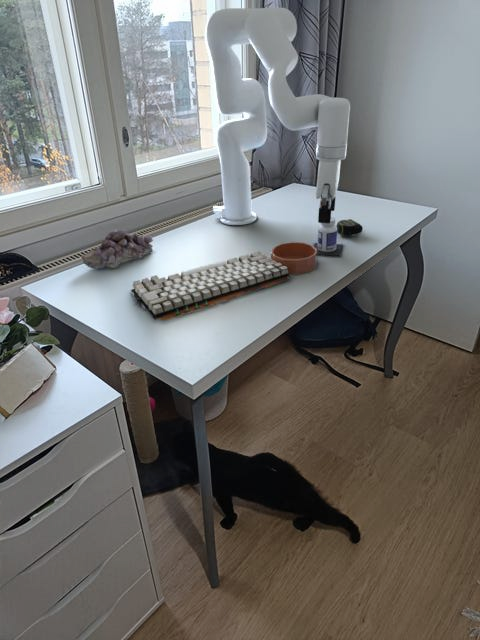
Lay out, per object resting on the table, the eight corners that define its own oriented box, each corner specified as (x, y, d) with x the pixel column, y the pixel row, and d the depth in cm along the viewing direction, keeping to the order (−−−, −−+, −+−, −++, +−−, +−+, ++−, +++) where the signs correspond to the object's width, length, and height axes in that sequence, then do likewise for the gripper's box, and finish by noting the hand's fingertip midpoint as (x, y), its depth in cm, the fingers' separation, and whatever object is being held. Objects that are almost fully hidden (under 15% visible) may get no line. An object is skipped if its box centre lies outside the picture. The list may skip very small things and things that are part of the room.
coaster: (310, 254, 127) (310, 253, 126) (314, 244, 133) (314, 242, 133) (339, 256, 125) (339, 255, 124) (342, 245, 131) (342, 244, 131)
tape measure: (363, 236, 136) (364, 224, 134) (342, 239, 135) (343, 227, 133) (351, 228, 142) (352, 217, 140) (331, 232, 140) (332, 220, 138)
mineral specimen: (131, 228, 137) (138, 210, 129) (153, 253, 138) (162, 237, 129) (77, 262, 126) (81, 245, 118) (101, 289, 127) (107, 273, 118)
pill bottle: (338, 246, 130) (340, 216, 125) (333, 253, 126) (335, 222, 121) (320, 244, 132) (321, 214, 127) (315, 251, 128) (316, 221, 123)
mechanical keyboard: (254, 255, 128) (254, 244, 126) (294, 279, 114) (294, 267, 112) (128, 293, 113) (125, 281, 111) (155, 327, 99) (152, 314, 97)
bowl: (267, 272, 119) (266, 258, 117) (276, 254, 128) (276, 241, 126) (312, 275, 116) (313, 261, 113) (319, 256, 125) (319, 243, 123)
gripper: (320, 144, 123) (317, 205, 132) (311, 159, 109) (307, 226, 118) (349, 144, 121) (343, 206, 130) (342, 160, 107) (336, 229, 116)
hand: (326, 216), depth 124 cm, fingers open, 9 cm apart
